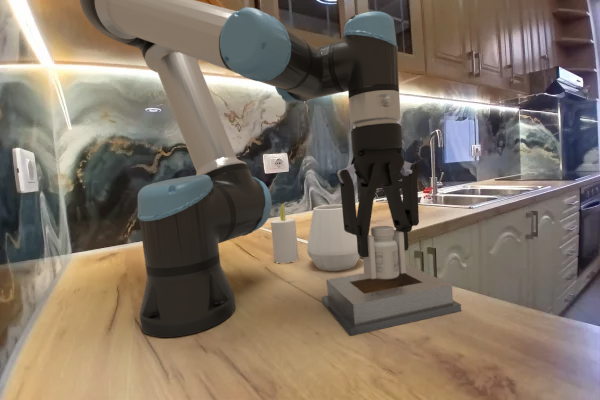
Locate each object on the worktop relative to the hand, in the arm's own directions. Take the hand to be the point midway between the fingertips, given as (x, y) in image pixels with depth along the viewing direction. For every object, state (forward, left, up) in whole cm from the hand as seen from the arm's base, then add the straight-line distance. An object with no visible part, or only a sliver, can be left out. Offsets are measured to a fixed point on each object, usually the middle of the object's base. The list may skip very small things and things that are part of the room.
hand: (384, 273), depth 51 cm
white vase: (+1, +25, -6) cm, 26 cm away
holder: (0, 0, -5) cm, 5 cm away
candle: (-9, +35, -6) cm, 37 cm away
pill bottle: (0, 0, -1) cm, 1 cm away
